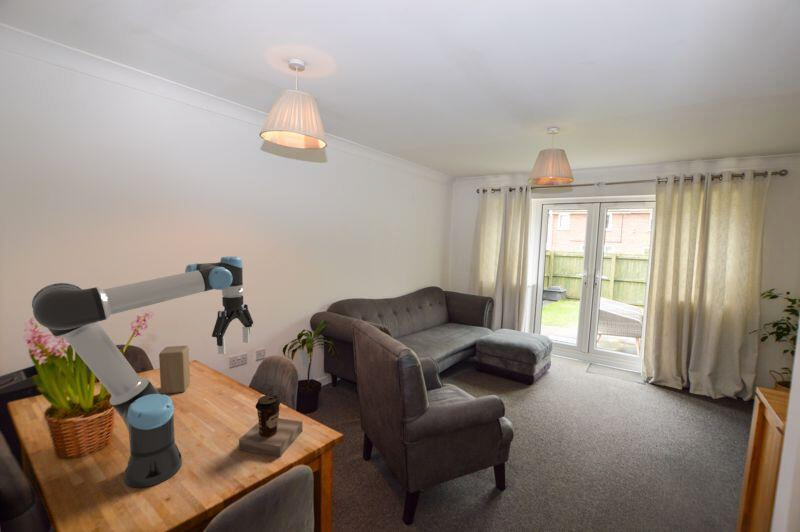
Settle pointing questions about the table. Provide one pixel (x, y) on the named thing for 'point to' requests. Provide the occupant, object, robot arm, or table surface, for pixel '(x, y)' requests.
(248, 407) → the table surface
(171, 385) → the block
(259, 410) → the coffee cup
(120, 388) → the robot arm
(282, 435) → the block
